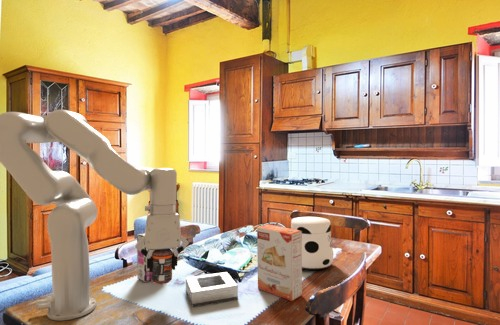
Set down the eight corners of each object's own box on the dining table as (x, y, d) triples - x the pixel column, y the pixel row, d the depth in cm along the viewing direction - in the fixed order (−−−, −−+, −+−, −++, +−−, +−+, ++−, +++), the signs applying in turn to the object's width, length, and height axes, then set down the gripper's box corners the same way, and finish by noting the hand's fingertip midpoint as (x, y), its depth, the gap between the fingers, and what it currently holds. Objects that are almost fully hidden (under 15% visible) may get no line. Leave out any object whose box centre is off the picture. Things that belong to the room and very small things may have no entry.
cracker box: (256, 289, 108) (256, 226, 107) (268, 283, 113) (267, 223, 112) (291, 302, 99) (291, 233, 98) (302, 295, 103) (302, 229, 102)
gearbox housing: (192, 307, 96) (192, 292, 96) (186, 291, 108) (185, 277, 107) (237, 299, 101) (237, 285, 101) (227, 284, 112) (227, 271, 112)
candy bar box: (145, 283, 115) (144, 236, 114) (137, 280, 117) (135, 234, 117) (170, 273, 124) (169, 230, 123) (162, 270, 127) (161, 228, 126)
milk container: (341, 264, 130) (341, 219, 130) (318, 277, 118) (317, 227, 117) (304, 255, 142) (304, 214, 142) (280, 266, 130) (279, 221, 129)
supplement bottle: (166, 285, 95) (167, 247, 94) (147, 283, 96) (148, 245, 96) (175, 278, 101) (175, 241, 100) (157, 276, 102) (157, 240, 101)
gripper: (132, 212, 91) (131, 277, 92) (194, 210, 97) (193, 271, 97) (132, 208, 98) (131, 267, 99) (190, 206, 104) (189, 262, 105)
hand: (162, 268), depth 98 cm, fingers closed on supplement bottle, 5 cm apart
